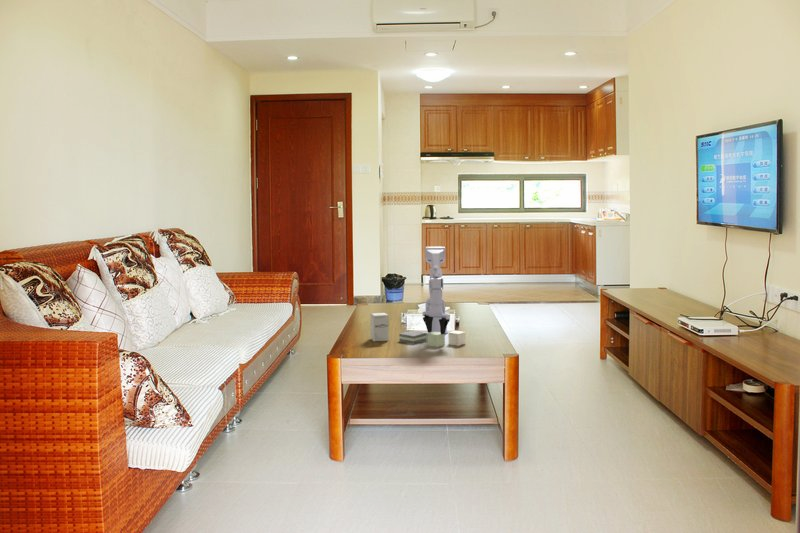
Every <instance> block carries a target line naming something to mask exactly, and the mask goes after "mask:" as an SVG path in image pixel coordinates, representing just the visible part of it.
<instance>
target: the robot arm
mask: <svg viewBox="0 0 800 533" xmlns="http://www.w3.org/2000/svg"><path fill="white" fill-rule="evenodd" d="M424 250H425V251H424V253H425V254H424V256H425V257H424V258H425V262H426V263H427V264H429V266H430V269H429V279H428V290H429V297H428V298H426V300H425V311H422V321H423V322H424V324H425V326H426V327H425V328H426V332H424V333H426V335H428V333H432V332H441V334H449V331H447V330H448V324H449V322H450V319H451V315H450V314H447V313H446V301H445V299H444V298H443V291H444V279H443V278H444V277H443V270H442V268H441V264H444V262H445V261H446V247H445V246H444V245H443V246H426V247H425V248H424Z"/></svg>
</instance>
